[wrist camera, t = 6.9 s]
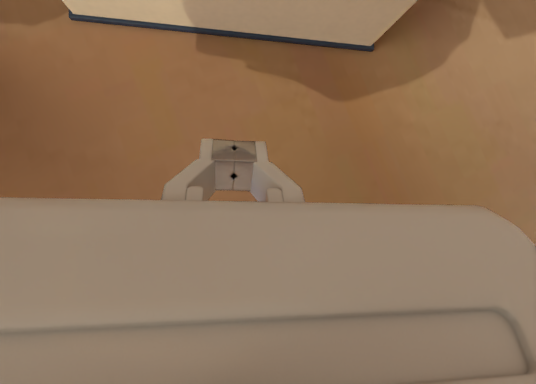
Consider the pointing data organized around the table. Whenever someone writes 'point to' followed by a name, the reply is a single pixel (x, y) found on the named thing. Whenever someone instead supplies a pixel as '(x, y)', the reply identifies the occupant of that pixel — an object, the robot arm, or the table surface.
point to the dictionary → (255, 18)
